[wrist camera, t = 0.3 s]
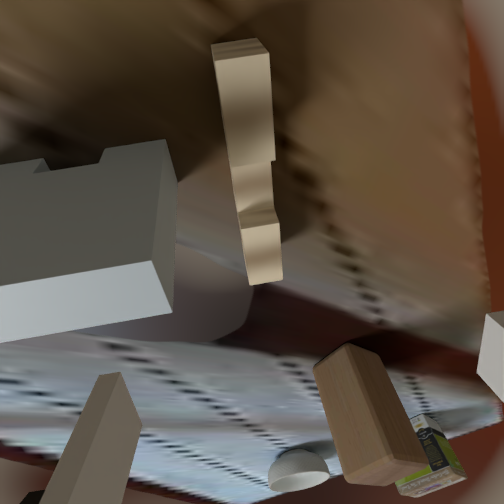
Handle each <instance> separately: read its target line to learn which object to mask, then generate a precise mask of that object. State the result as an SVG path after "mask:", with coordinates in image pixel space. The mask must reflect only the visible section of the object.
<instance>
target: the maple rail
mask: <svg viewBox="0 0 504 504" xmlns="http://www.w3.org/2000/svg"><path fill="white" fill-rule="evenodd" d="M211 50H212V57H213V63H214V69H215V76H216V82H217V88H218V95H219V101H220V107H221V113H222V120H223V126H224V132H225V139H226V145H227V151H228V158H229V164H230V170H231V177H232V183H233V189H234V195H235V202H236V208H237V214H238V221H239V227H240V233H241V240H242V246H243V252H244V258H245V263H246V268H247V274H248V279H249V284H250V285H255V284H261V283H267V282H272V281H278V280H283V275H282V258H281V242H280V225H279V220H278V217H277V214H276V211H275V209H274V201H273V187H272V173H271V161H274V160H276V158H275V142H274V125H273V109H272V92H271V75H270V59H269V52H268V51H267V50H266V49H265V47H264V46H263V45H262V44H261V42H260V41H259V40H258V39H257V38H252V39H245V40H238V41H231V42H224V43H218V44H211Z"/></svg>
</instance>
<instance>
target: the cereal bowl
mask: <svg viewBox="0 0 504 504" xmlns="http://www.w3.org/2000/svg"><path fill="white" fill-rule="evenodd" d="M329 477H330V473H329V470H328V466H327V464H326V462H325V461H324V459H323V458H322V457H321V456H319V455H317V454H315V453H312V452H308V451H307V450H305V449H295V450H290V451H287V452H285V453H283V454H282V455H281V457H280V458H279V459H277V460H276V461H275V462H274V463H273V464H272V465H271V467H270V469H269V472H268V483H269V488H270V489H271V490H273V491H277V492H289V491H297V490H302V489H306V488H309V487H312V486H315V485H318V484H320V483H322V482H324V481H326V480H327V479H328V478H329Z"/></svg>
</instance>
